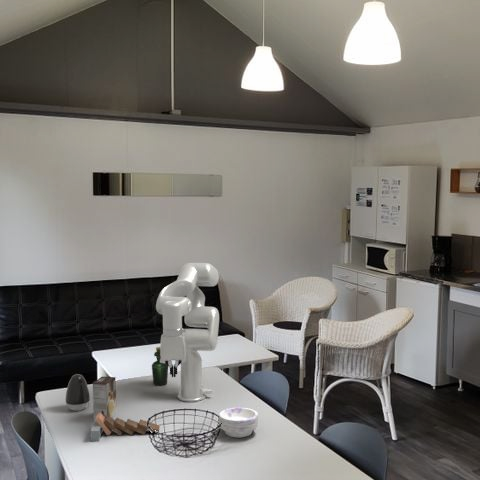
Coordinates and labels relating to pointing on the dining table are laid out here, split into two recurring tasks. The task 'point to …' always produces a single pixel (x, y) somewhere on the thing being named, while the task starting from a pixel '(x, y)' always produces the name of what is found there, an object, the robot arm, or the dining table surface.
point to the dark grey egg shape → (77, 393)
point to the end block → (96, 431)
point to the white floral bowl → (238, 421)
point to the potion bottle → (159, 370)
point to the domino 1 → (100, 420)
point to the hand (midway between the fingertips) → (173, 375)
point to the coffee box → (104, 396)
